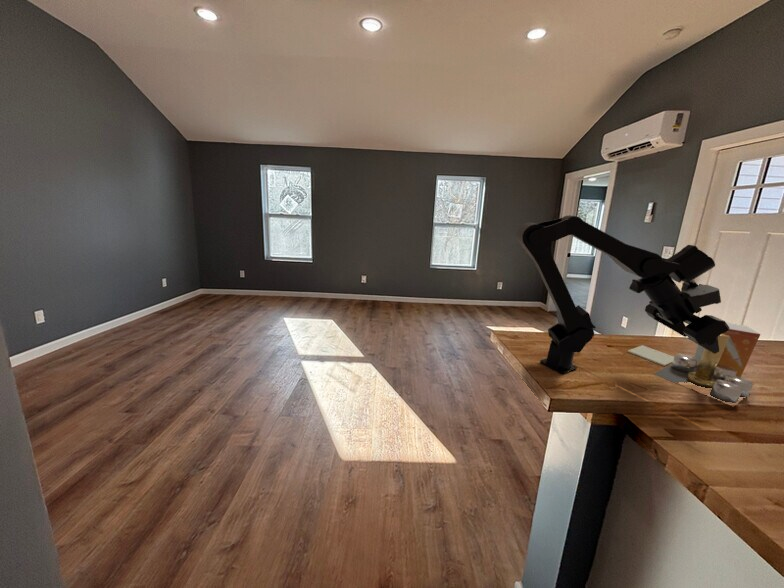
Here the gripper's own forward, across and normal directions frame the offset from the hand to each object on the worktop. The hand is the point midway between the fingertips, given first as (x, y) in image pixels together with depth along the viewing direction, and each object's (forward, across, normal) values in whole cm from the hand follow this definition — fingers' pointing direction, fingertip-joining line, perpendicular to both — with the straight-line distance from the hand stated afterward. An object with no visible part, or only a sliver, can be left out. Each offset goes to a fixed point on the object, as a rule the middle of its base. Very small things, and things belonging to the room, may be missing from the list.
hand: (700, 343), depth 76 cm
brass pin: (+10, 0, +5) cm, 11 cm away
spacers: (+10, +1, +4) cm, 11 cm away
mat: (+10, +1, +5) cm, 11 cm away
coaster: (+8, +14, +8) cm, 17 cm away
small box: (+17, +10, -2) cm, 20 cm away
